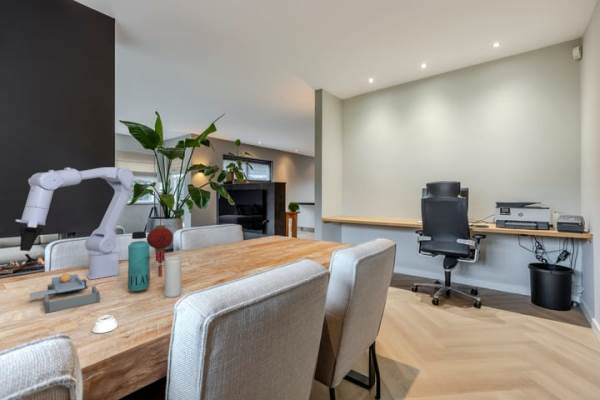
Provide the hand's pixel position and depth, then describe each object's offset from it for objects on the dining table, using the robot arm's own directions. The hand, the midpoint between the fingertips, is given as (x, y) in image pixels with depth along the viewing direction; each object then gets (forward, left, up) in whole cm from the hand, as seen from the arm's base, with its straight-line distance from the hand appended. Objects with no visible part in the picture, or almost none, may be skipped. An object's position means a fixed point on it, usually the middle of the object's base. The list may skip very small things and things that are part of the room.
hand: (25, 250), depth 89 cm
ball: (-10, -3, -12) cm, 16 cm away
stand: (-10, +4, -14) cm, 18 cm away
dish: (-10, +19, -14) cm, 26 cm away
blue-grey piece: (-7, +4, -13) cm, 16 cm away
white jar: (-14, +44, -15) cm, 48 cm away
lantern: (-38, +7, -14) cm, 41 cm away
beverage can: (-34, +32, -14) cm, 49 cm away
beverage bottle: (-27, +21, -14) cm, 37 cm away
